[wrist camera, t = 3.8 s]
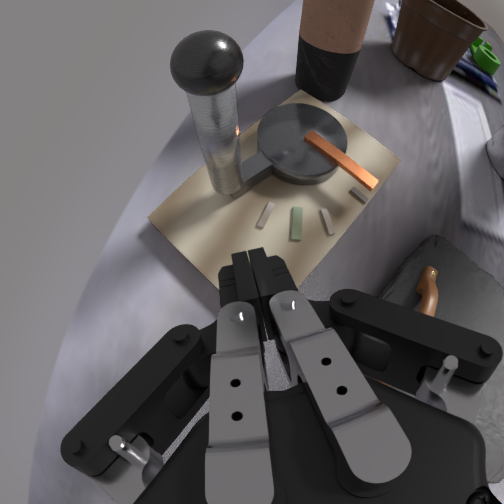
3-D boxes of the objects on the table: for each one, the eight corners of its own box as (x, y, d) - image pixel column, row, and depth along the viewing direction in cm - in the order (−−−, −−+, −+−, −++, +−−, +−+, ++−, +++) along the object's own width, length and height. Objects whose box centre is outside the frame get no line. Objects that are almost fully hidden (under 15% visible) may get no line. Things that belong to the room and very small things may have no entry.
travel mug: (313, 108, 33) (342, -30, 14) (282, 75, 35) (293, -49, 15) (356, 96, 34) (397, -22, 14) (325, 65, 36) (348, -45, 16)
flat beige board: (394, 168, 30) (401, 158, 28) (260, 328, 26) (260, 327, 24) (298, 99, 33) (300, 87, 31) (153, 224, 29) (146, 216, 26)
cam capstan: (385, 173, 28) (464, 54, 11) (297, 279, 25) (372, 176, 8) (293, 106, 30) (310, -25, 14) (194, 189, 27) (138, 39, 11)
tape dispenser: (495, 79, 39) (503, 68, 35) (474, 63, 40) (481, 52, 36) (486, 56, 43) (492, 46, 39) (467, 42, 44) (473, 32, 39)
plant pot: (364, 34, 39) (383, -30, 24) (421, 41, 40) (443, -11, 25) (413, 87, 35) (449, 15, 19) (467, 91, 36) (502, 37, 21)
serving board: (301, 415, 24) (313, 437, 18) (402, 222, 29) (430, 199, 23) (495, 481, 18) (518, 491, 12) (552, 350, 23) (577, 348, 17)
